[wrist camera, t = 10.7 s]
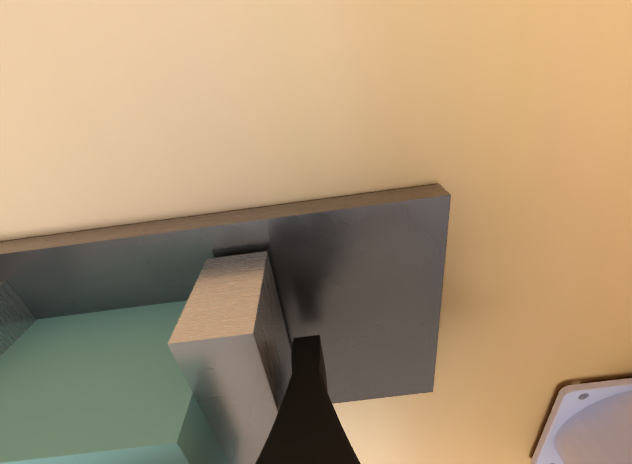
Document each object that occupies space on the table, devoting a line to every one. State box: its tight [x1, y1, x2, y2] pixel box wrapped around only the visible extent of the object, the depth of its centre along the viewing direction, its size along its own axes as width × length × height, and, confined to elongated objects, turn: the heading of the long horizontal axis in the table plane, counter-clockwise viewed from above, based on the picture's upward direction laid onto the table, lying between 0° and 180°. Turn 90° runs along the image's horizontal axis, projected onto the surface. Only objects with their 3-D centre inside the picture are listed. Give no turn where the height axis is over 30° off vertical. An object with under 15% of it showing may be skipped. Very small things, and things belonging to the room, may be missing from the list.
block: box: [0, 300, 229, 464], centre depth 10 cm, size 7×4×5 cm, turn 97°
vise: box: [0, 184, 451, 403], centre depth 11 cm, size 18×10×4 cm, turn 97°
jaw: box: [168, 251, 292, 464], centre depth 11 cm, size 2×8×4 cm, turn 7°
